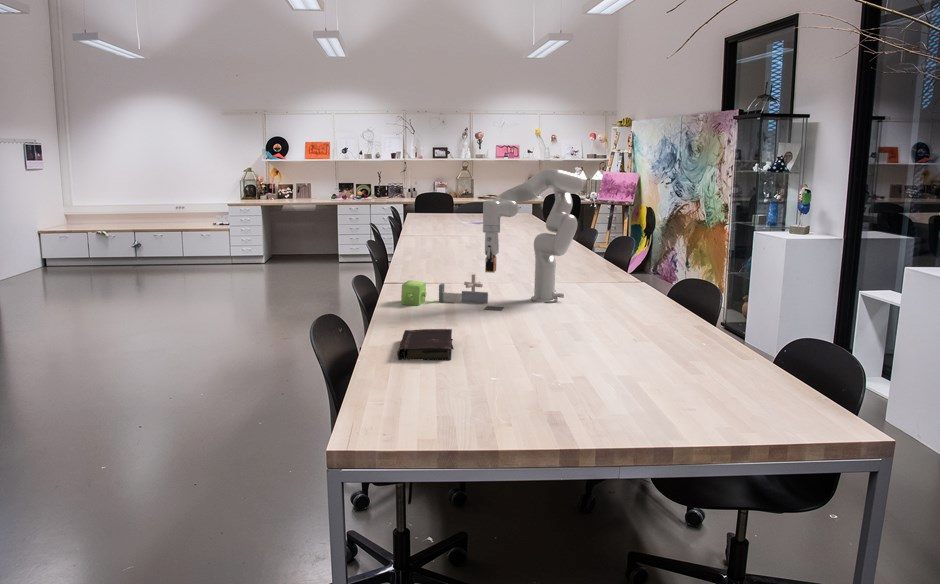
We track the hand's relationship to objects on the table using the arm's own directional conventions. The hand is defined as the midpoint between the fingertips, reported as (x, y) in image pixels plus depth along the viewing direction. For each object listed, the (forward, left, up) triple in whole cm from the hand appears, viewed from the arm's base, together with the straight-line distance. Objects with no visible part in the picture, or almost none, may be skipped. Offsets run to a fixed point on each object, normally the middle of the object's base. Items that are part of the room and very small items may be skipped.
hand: (490, 269), depth 312 cm
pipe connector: (+14, -26, -18) cm, 35 cm away
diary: (+8, +74, -18) cm, 76 cm away
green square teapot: (+35, +1, -18) cm, 39 cm away
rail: (+14, -7, -17) cm, 23 cm away
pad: (-2, +3, -17) cm, 18 cm away
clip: (0, 0, -1) cm, 1 cm away
